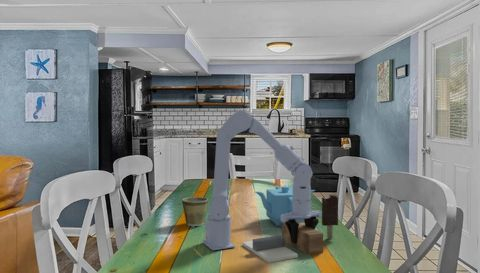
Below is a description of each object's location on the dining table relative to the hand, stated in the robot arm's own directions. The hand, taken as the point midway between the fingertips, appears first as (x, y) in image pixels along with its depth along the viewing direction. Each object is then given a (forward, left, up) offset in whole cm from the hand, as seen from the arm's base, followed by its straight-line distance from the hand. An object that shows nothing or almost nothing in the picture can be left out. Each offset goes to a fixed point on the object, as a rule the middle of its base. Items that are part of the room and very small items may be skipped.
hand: (301, 241), depth 120 cm
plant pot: (-40, -22, -2) cm, 46 cm away
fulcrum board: (0, -12, -1) cm, 12 cm away
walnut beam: (0, 0, -2) cm, 2 cm away
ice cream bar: (-2, +13, -2) cm, 13 cm away
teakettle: (-27, +10, -2) cm, 29 cm away
